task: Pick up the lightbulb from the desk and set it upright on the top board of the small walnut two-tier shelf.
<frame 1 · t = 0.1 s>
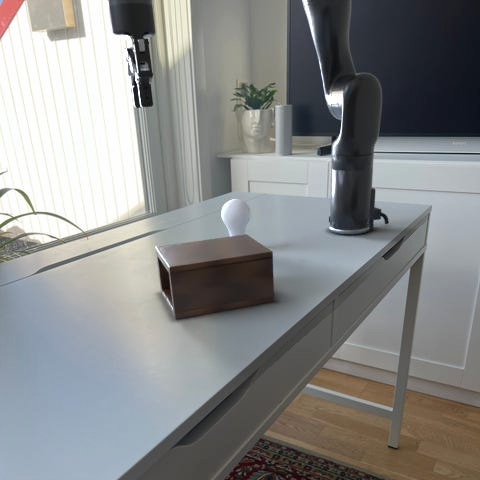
hand: (143, 107, 89), 29 cm above the table, tool pointing down, fingers open, 8 cm apart
shelf: (215, 297, 79), on the table
lightbulb: (238, 251, 103), on the table
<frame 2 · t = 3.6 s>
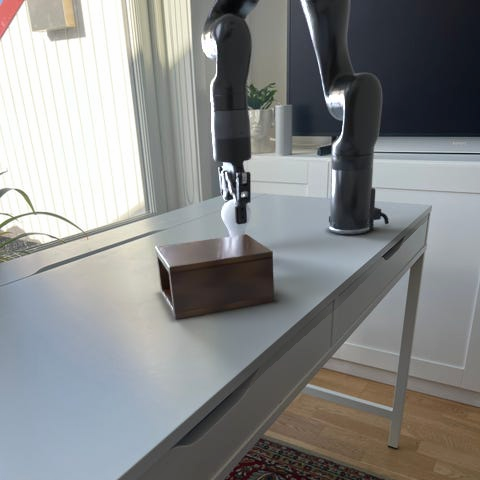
hand: (236, 220, 100), 7 cm above the table, tool pointing down, fingers closed on lightbulb, 6 cm apart
lightbulb: (238, 251, 103), on the table, touching gripper
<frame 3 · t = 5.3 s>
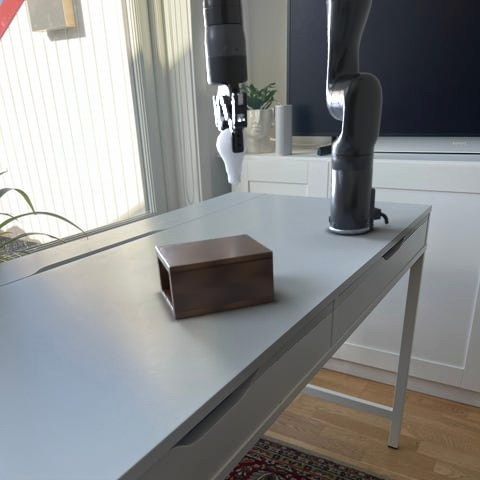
hand: (232, 151, 95), 20 cm above the table, tool pointing down, fingers closed on lightbulb, 6 cm apart
lightbulb: (235, 186, 98), point 14 cm above the table, touching gripper
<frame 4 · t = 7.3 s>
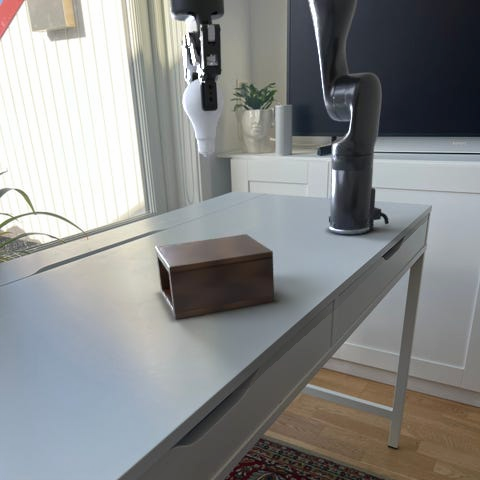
hand: (204, 110, 72), 28 cm above the table, tool pointing down, fingers closed on lightbulb, 6 cm apart
lightbulb: (207, 158, 75), point 21 cm above the table, touching gripper
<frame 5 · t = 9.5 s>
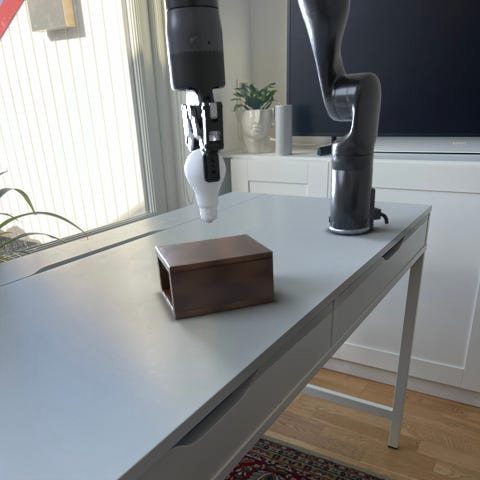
hand: (206, 178, 71), 19 cm above the table, tool pointing down, fingers closed on lightbulb, 6 cm apart
lightbulb: (209, 224, 74), point 12 cm above the table, touching gripper
when the fingers open (15 cm above the table, at t = 11.2 s): lightbulb stays where it is, resting on shelf.
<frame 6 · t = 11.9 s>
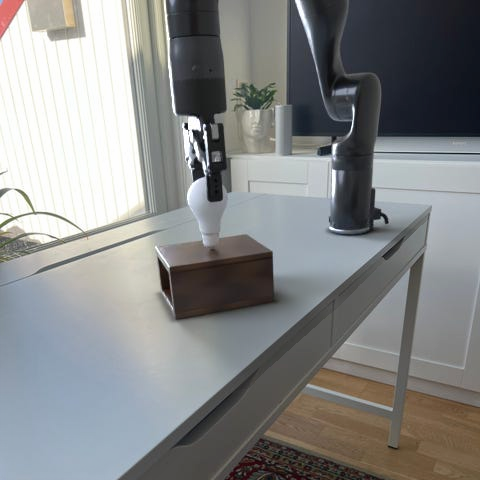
hand: (207, 197, 72), 16 cm above the table, tool pointing down, fingers open, 8 cm apart
lightbulb: (211, 250, 76), point 8 cm above the table, touching shelf
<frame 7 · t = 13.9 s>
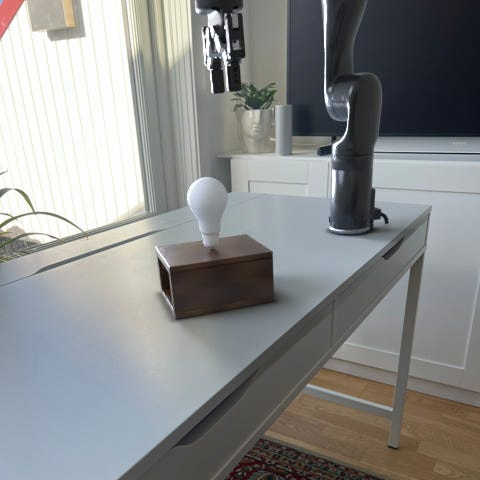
hand: (226, 92, 80), 31 cm above the table, tool pointing down, fingers open, 8 cm apart
nothing on the table moved.
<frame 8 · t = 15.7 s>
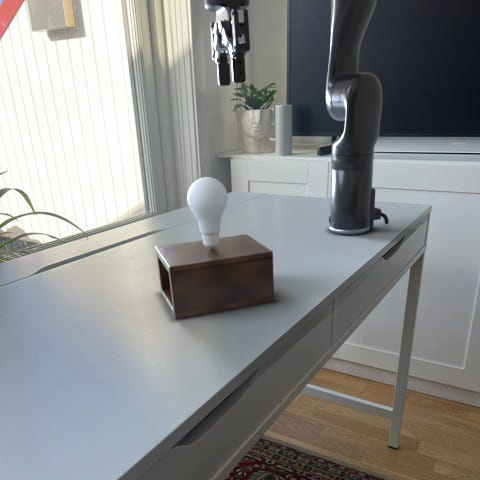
hand: (231, 84, 85), 32 cm above the table, tool pointing down, fingers open, 8 cm apart
nothing on the table moved.
at the end: lightbulb inside the target area on the shelf (0.1 cm from its centre), point 8.0 cm above the shelf's base; lightbulb tilted 0°; the gripper is holding nothing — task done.
